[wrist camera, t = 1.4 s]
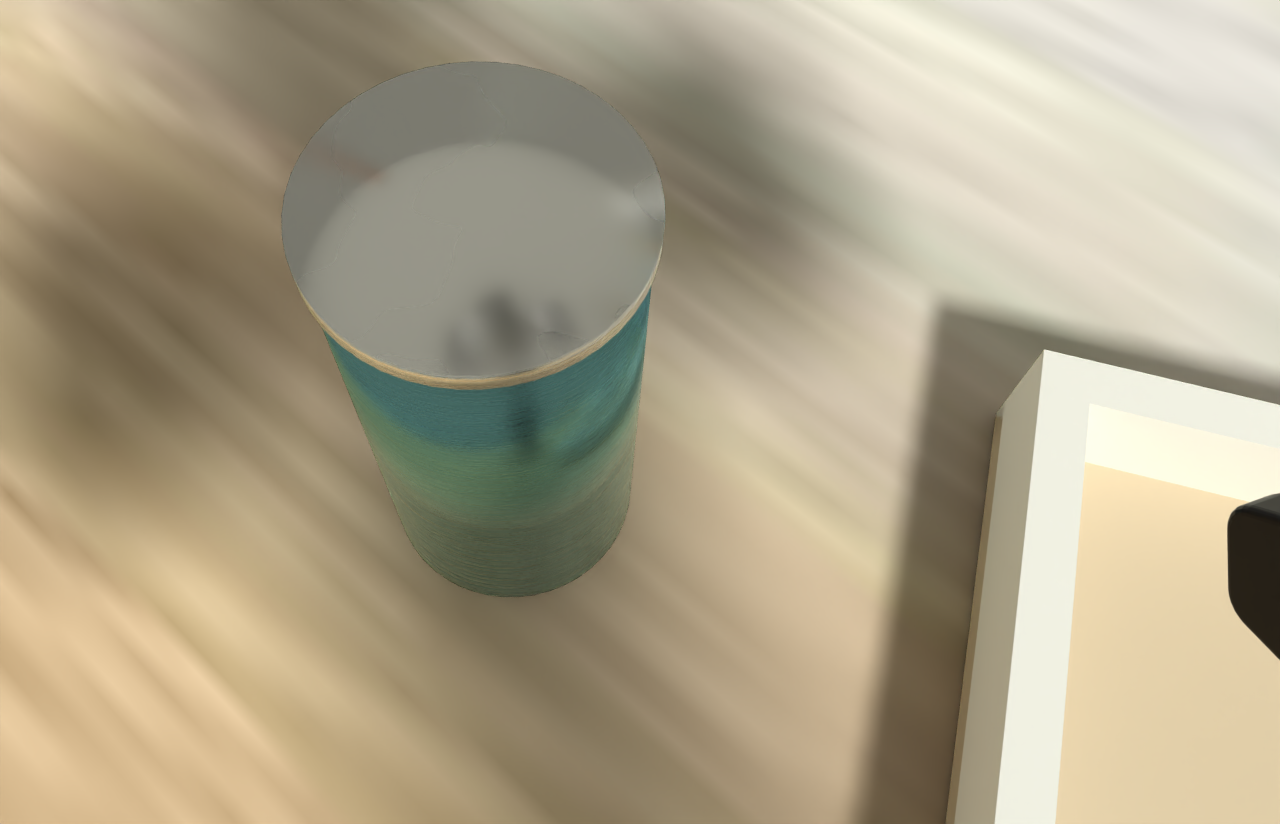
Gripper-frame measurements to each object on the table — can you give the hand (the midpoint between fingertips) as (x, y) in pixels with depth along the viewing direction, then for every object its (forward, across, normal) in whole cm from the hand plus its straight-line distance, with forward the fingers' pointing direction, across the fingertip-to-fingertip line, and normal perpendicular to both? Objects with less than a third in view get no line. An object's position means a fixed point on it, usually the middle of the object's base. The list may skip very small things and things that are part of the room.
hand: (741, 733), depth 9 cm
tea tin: (+16, 0, +4) cm, 16 cm away
